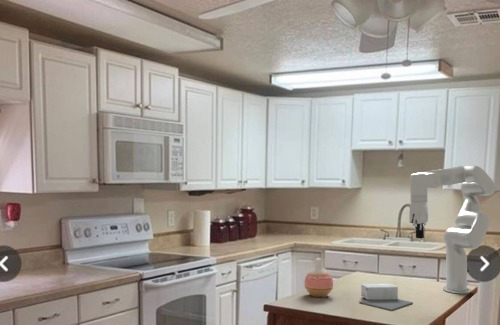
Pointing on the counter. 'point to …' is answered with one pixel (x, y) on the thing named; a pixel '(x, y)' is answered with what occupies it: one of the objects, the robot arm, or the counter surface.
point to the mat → (387, 304)
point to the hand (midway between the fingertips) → (419, 238)
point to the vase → (318, 281)
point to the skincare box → (379, 291)
